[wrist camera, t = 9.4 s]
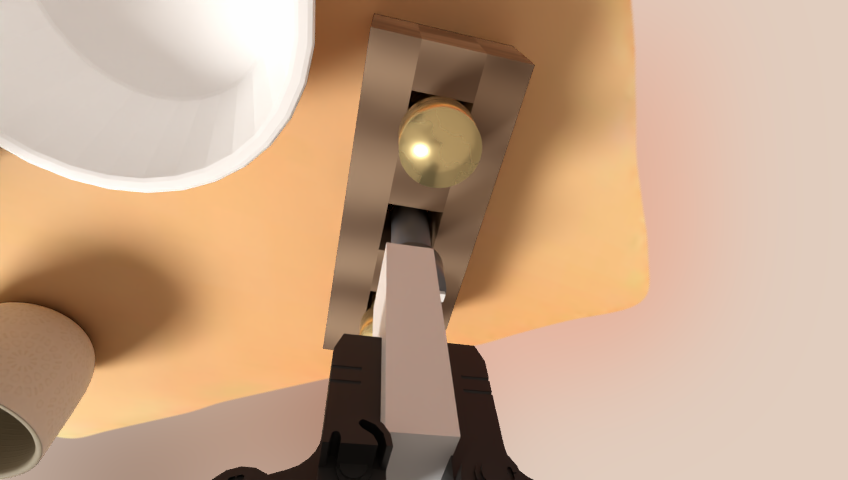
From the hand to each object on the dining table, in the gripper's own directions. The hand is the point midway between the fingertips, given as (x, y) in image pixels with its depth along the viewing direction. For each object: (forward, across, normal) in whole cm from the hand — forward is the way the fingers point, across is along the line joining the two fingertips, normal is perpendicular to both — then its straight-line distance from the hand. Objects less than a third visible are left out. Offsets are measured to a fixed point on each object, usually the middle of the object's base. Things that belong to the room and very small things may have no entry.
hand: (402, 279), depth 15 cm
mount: (+23, +3, -8) cm, 24 cm away
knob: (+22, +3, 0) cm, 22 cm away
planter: (+23, -30, -30) cm, 48 cm away
